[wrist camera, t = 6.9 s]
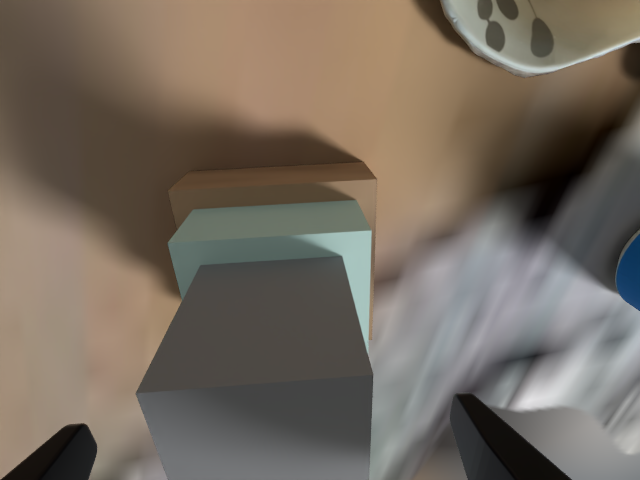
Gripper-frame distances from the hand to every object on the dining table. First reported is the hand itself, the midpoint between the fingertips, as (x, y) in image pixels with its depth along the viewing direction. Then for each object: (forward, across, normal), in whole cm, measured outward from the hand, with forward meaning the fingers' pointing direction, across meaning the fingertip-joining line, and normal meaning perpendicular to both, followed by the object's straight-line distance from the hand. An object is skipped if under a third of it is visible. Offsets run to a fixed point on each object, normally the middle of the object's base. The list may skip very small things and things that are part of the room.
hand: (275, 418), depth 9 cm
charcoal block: (+4, 0, 0) cm, 4 cm away
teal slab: (+7, 0, 0) cm, 7 cm away
